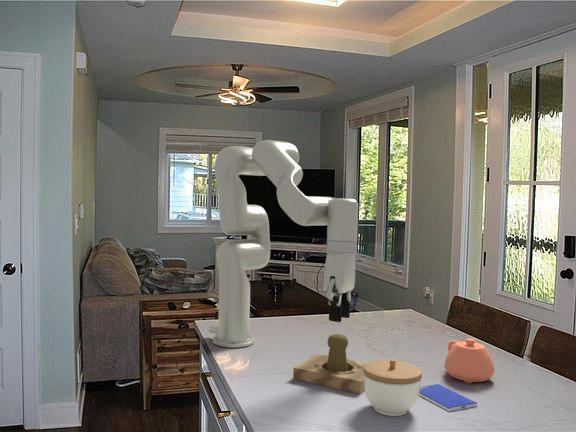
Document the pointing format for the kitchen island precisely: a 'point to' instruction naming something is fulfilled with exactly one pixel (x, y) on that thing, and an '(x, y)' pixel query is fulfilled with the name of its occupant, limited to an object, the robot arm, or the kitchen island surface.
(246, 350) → the kitchen island surface
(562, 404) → the kitchen island surface
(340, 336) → the cork
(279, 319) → the kitchen island surface
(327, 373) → the holder board
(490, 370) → the sugar bowl
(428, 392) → the hard drive
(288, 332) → the kitchen island surface
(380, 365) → the lidded bowl
